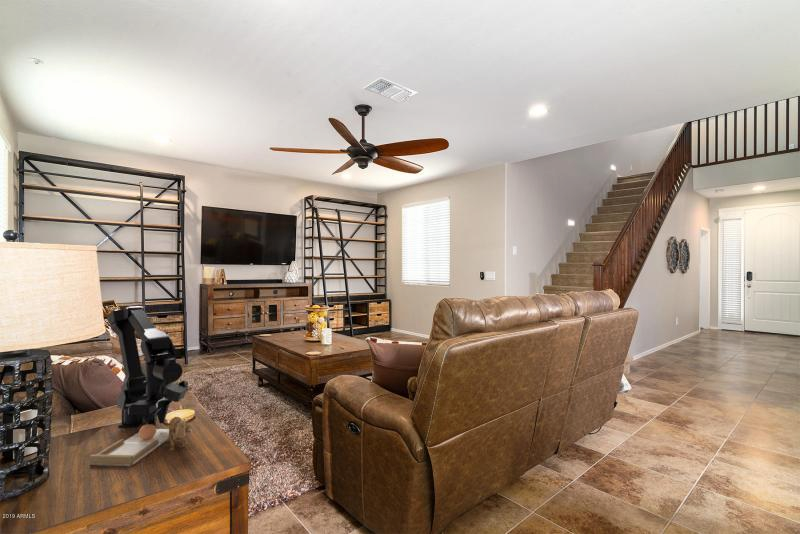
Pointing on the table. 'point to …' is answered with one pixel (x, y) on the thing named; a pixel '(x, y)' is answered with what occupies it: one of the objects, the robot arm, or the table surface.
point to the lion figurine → (178, 431)
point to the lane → (129, 450)
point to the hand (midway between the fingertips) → (157, 426)
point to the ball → (147, 431)
